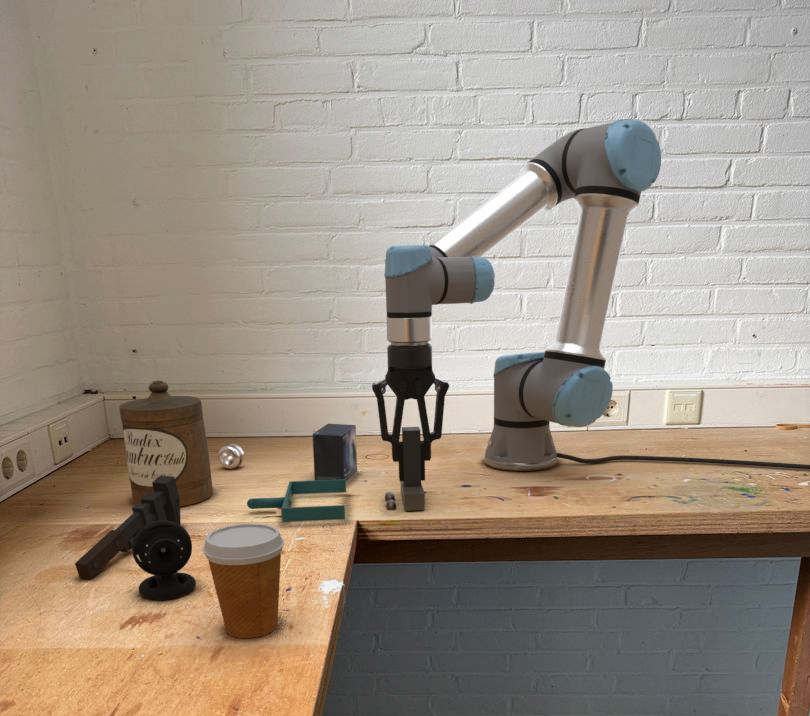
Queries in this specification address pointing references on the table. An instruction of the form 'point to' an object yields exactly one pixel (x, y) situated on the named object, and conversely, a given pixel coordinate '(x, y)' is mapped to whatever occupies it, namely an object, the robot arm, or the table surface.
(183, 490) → the wooden container
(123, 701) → the table surface
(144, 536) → the webcam
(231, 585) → the disposable coffee cup
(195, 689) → the table surface
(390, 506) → the glossy brown capsule
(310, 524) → the table surface
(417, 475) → the gray l-shaped block
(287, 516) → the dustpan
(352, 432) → the small box
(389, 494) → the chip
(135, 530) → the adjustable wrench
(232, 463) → the grooved metal pulley
